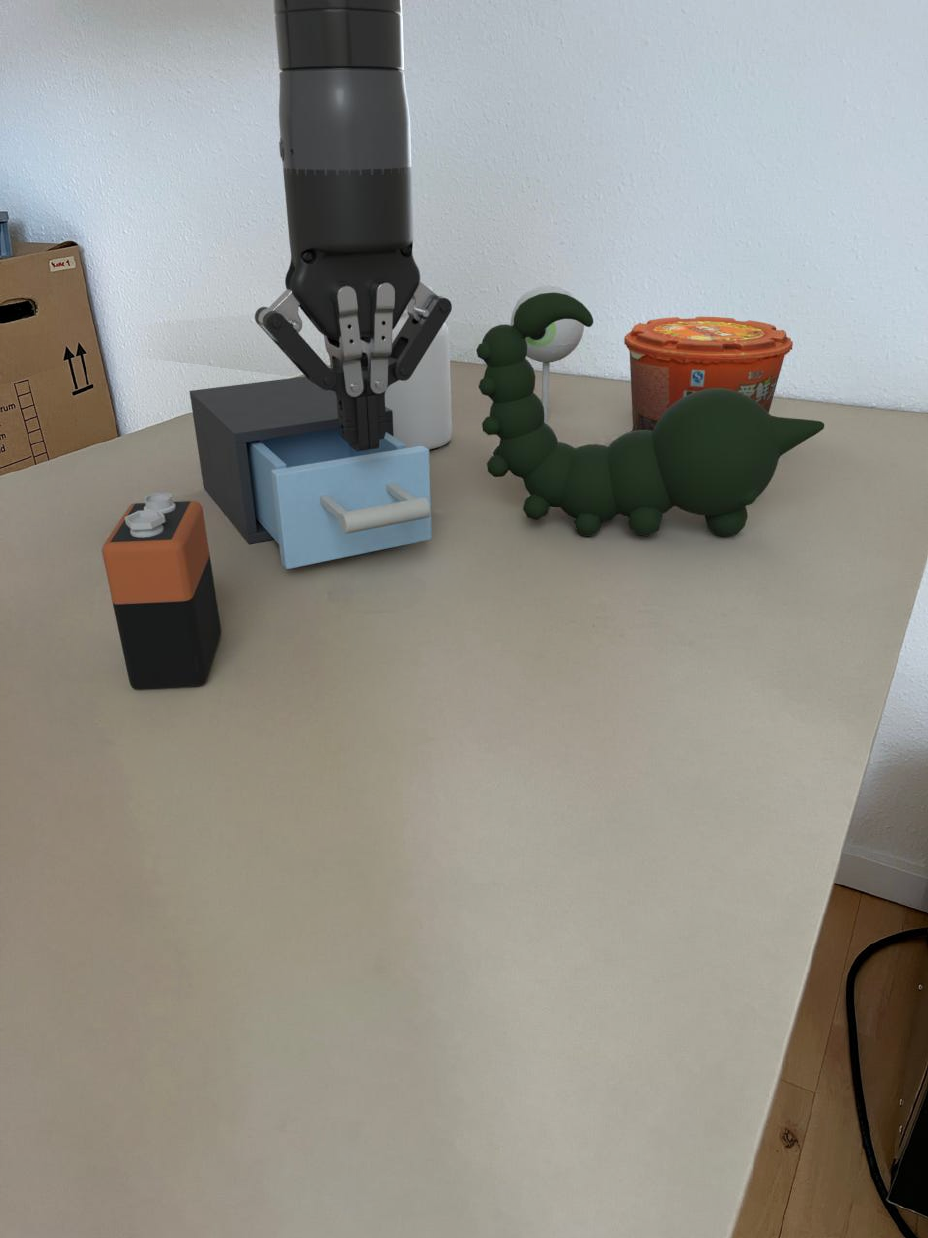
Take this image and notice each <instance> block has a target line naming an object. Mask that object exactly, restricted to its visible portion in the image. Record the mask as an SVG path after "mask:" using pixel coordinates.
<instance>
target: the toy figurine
mask: <svg viewBox="0 0 928 1238" xmlns="http://www.w3.org/2000/svg"><path fill="white" fill-rule="evenodd" d="M575 298H576V297H575ZM575 298H573V297H571V296H569V295H566V294H561V293H555V292H553V293H543V294H539V295H536V296H534V297H531V298H529V299H527V300H526V301H524V302H523V303H522V304H520V306H519V307H518V309H517V310H516V312H515V315H514V324H513V326H511V324H499V325H495V326H493V327H491V328H490V329H489V330H488V331H487V332H486V333H485V334H484V336H483V338H482V341H481V343H479V344H478V345H477V348H476V349H475V351H476V355H477V358H479V359H480V360H483V362H484V363H485V364H486V369H485V371H484V374H483V378H481V379H480V381H479V384H478V388H479V391H480V392H481V394H482V395H484V396H487V397H488V398H489V399H490V400H491V401H492V404H491V405H490V409H489V415H488V416H486V417H485V418H484V420H483V421H482V422H481V427H482V431H483V432H484V433H485V434H486V435H487V436H494V435H495V436H497V437H498V438H499V443H498V445H497V446H496V448H495V449H494V451H493V452H492V456H491V457H489V459H488V460H487V463H486V466H487V467H486V468H487V472H488V473H489V474H490V475H491V476H492V477H493V478H501V477H504V476H506V474H507V473H508V472H509V473H511V474H512V475H513V476H515V477H517V478H521V479H522V480H523V484H524V487H525V490H526V491H527V492H528V494H529V496H527V497H525V499H524V503H523V507H522V510H523V512H524V514H525V515H526V517H527V518H528V519H531V520H534V521H538V520H540V519H542V518H544V517H546V516H548V514H549V511H550V508H560V509H561V510H562V511H563V512H564V513H565V514H566V515H567V516H569V517H571V518H572V519H574V521H573V523H574V527H575V530H576V533H579V534H581V536H584V537H590V536H595V535H596V534H597V533H598V532H599V531H600V529H601V527H602V523H603V522H606V521H607V522H608V521H611V520H612V519H613V518H616V516H618V515H622V516H623V517H627V518H628V523H627V524H628V526H629V527H630V529H631V530H632V531H633V532H634V534H635V535H640V536H646V537H649V536H651V535H652V534H654V533H656V532H658V531H659V530H660V527H661V523H662V519H663V514H665V513H667V512H669V511H670V510H671V509H672V508H674V507H677V508H678V509H680V510H682V511H684V512H687V513H690V514H693V515H697V516H704V520H705V523H706V527H707V528H708V530H710V531H711V532H712V533H714V535H716V536H721V537H726V538H728V537H732V536H736V535H737V534H738V533H739V532H741V530H743V529H744V528H745V527H746V523H747V520H748V518H749V517H748V510H747V507H748V506H750V505H752V504H753V503H754V502H755V501H756V500H757V499H758V497H760V496H761V495H762V493H764V491H765V490H766V488H767V487H768V486H769V484H770V483H771V481H772V479H773V477H774V475H775V472H776V470H777V467H778V465H779V459H780V458H781V457H782V456H783V455H785V454H786V453H787V452H789V451H791V450H792V449H794V448H795V447H797V446H799V445H801V444H802V443H804V442H805V441H807V440H809V439H811V438H812V437H814V436H815V435H817V434H819V433H820V432H821V431H823V430H824V428H825V423H824V422H822V421H821V420H813V419H806V418H805V419H803V418H793V417H783V416H777V415H776V416H775V415H771V414H770V412H769V413H768V412H767V411H766V410H765V409H764V408H763V407H762V406H761V405H760V404H759V403H757V402H756V401H755V400H753V399H752V398H750V397H748V396H746V395H744V394H742V393H740V392H737V391H733V390H729V389H723V388H711V389H704V390H701V391H697V392H694V393H691V394H689V395H687V396H685V397H683V398H681V399H679V400H678V401H677V402H675V403H674V404H673V405H672V406H670V407H669V408H668V409H667V410H666V411H665V412H664V414H663V415H662V416H661V417H660V419H659V420H658V422H657V423H656V425H655V427H654V429H653V431H651V430H636V431H633V430H632V431H629V432H626V433H624V434H622V435H620V436H618V437H617V438H616V439H614V440H613V441H612V442H611V443H610V444H609V445H608V446H607V445H604V444H598V443H587V444H584V445H580V446H578V447H574V446H573V445H571V444H569V443H566V442H561V441H558V437H557V435H556V433H555V432H554V429H552V427H551V426H550V425H549V424H548V425H547V424H546V423H544V420H545V417H544V407H543V404H542V399H540V397H539V396H538V395H537V394H536V393H534V391H535V389H536V387H535V386H536V373H535V369H534V367H533V366H532V363H531V362H530V361H529V360H528V359H527V356H526V355H527V342H526V339H525V338H526V337H532V336H535V335H537V334H539V333H541V332H542V331H544V330H545V329H546V328H547V327H548V326H549V325H550V324H552V323H553V322H555V321H558V320H562V319H573V320H577V321H578V322H580V323H582V324H583V325H584V327H587V328H591V327H592V326H593V324H594V318H593V315H592V313H591V312H590V311H589V309H588V308H587V307H586V306H585V305H584V304H583V302H581V301H580V300H579V299H577V298H576V299H575Z"/></svg>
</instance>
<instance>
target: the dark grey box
mask: <svg viewBox="0 0 928 1238" xmlns="http://www.w3.org/2000/svg"><path fill="white" fill-rule="evenodd" d="M188 392H189V398H190V404H191V411H192V416H193V418H192V419H193V423H194V424H193V425H194V430H195V438H196V444H197V445H196V446H197V451H198V457H199V465H200V471H201V479H202V484H203V489H204V490H205V492H206V493H207V494H208V495H209V497H210V498H211V499H212V500H213V502H214V503H215V504H216V505H217V506H218V508H219V509H220V510H221V512H222V513H223V515H225V516H226V518H227V519H228V520H229V522H230V523H231V524H232V525H233V527H234V528H235V529H236V530H237V532H238V533H239V534H240V535H241V536H242V538H243V539H244V540H245V541H246V542H247V544H248V545H252V544H257V543H262V542H263V543H264V542H267V541H273V540H275V539H274V538H273V537H272V536H271V535H270V534H269V532H268V531H267V530H266V529H265V528H264V527H263V526H262V524H261V523H260V522H259V521H258V520H257V519H256V518H255V510H254V502H253V494H252V486H251V478H250V470H249V462H248V454H247V446H246V442H252V441H259V440H266V439H272V438H279V437H286V436H292V435H299V434H306V433H312V432H319V431H326V430H333V429H339V423H338V410H337V397H336V393H335V391H331V390H324V389H322V388H320V387H319V386H317V385H316V384H314V383H313V382H311V381H310V380H308V379H307V377H306V376H305V375H304V376H298V377H291V378H290V377H289V378H282V379H281V378H280V379H274V380H273V379H272V380H265V381H257V382H249V383H242V384H241V383H240V384H233V385H227V386H226V385H225V386H218V387H208V388H202V389H193V390H189V391H188ZM385 414H386V416H385V417H386V432H387V433H388V434H390V435H392V436H393V437H394V433H393V421H392V420H393V411H392V410H390V409H389V408H387V407H385Z"/></svg>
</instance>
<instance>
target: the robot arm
mask: <svg viewBox="0 0 928 1238" xmlns="http://www.w3.org/2000/svg"><path fill="white" fill-rule="evenodd" d="M273 12H274V13H273V14H274V25H275V26H274V28H275V39H276V50H277V62H278V70H279V71H280V72H279V73H278V74H279V98H278V100H279V101H278V125H279V142H278V147H279V148H278V149H279V156H280V158H281V162H282V172H283V183H284V194H285V206H286V217H287V230H288V240H289V248H290V263H289V267H288V270H287V272H286V274H285V278H284V282H285V283H284V284H285V291H284V292H282V293H281V294H280V295H279V297H277V298H276V300H274V302H273V303H272V304H270V306H268V307H267V306H260V307H259V308H257V310H256V311H255V314H254V320H255V322H256V324H257V325H258V326H259V327H260V328H261V330H262V331H263V332H264V333H265V334H266V335H267V336H268V337H269V338H270V339H271V341H273V343H274V344H275V345H276V346H277V347H278V348H279V349H280V350H281V352H282V353H283V354H284V355H286V357H287V358H288V359H289V361H291V362H292V364H294V366H295V367H296V368H297V369H298V370H299V371H300V372H301V373H302V374H303V376H304V377H305V376H306V377H307V379H308V380H310V381H311V382H313V383H314V384H316V385H317V386H319V387H320V388H322V389H324V390H331V391H335V393H336V397H337V410H338V423H339V433H340V435H341V437H342V439H343V440H345V441H346V442H348V443H349V446H350V447H352V448H353V449H354V450H356V451H357V452H360V451H366V450H372V449H378V448H379V440H380V439H384V437H385V434H386V417H385V416H386V414H385V391H386V389H387V388H388V387H389V386H390V385H391V384H393V383H395V382H397V381H399V380H401V381H406V380H408V379H409V378H410V377H411V375H412V374H413V372H414V371H415V369H416V367H417V366H418V364H419V362H420V361H421V359H422V358H423V356H424V354H425V353H426V351H427V350H428V348H429V346H430V345H431V343H432V342H433V340H434V338H435V337H436V335H437V333H438V332H439V330H440V329H441V327H442V325H443V324H444V322H445V323H446V320H447V319H448V318H449V316H450V314H451V312H452V309H453V305H452V302H451V300H449V298H446V297H443V296H441V295H439V294H437V293H436V292H434V291H433V292H432V291H431V290H430V289H429V288H428V287H426V286H425V285H426V284H424V283H423V282H422V281H421V270H420V268H419V266H418V264H417V262H416V259H415V257H414V253H413V247H414V238H415V237H414V209H413V207H414V206H413V204H414V203H413V175H412V174H413V173H412V169H413V168H412V139H411V135H412V134H411V117H410V107H409V99H408V95H407V88H406V77H405V72H404V70H405V59H404V58H405V57H404V56H405V55H404V29H403V28H404V26H403V24H404V23H403V1H402V0H273ZM408 304H409V305H408ZM407 305H408V308H407V313H408V315H409V317H408V319H407V320H406V322H405V324H404V325H403V327H402V329H401V330H400V332H399V333H398V335H397V337H396V338H395V340H394V342H393V343H392V330H393V329H394V328H395V327H396V325H397V323H398V321H399V320H400V318H401V316H402V314H403V313H404V311H405V309H406V307H407ZM299 308H300V310H301V311H302V312H303V313H304V315H305V316H306V318H307V319H308V320H309V321H310V322H311V323H312V325H313V326H314V327H315V328H316V329H317V331H318V332H319V333H320V334H322V335H323V339H324V346H325V351H326V353H327V355H328V357H329V364H330V366H328V365H327V364H326V363H325V362H324V361H323V359H322V358H321V357H320V356H319V355H318V354H317V353H316V351H315V350H314V348H312V347H311V345H309V344H308V342H307V341H306V340H305V339H304V338H303V337H302V335H300V334H299V333H300V332H301V331H302V328H303V320H302V318H301V317H300V315H299Z"/></svg>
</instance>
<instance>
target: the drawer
mask: <svg viewBox="0 0 928 1238" xmlns="http://www.w3.org/2000/svg"><path fill="white" fill-rule="evenodd" d="M246 446H247V454H248V462H249V470H250V478H251V486H252V494H253V502H254V510H255V518H256V519H257V520H258V521H259V522H260V523H261V524H262V526H263V527H264V528H265V529H266V530H267V531H268V532H269V534H270V535H271V536H272V537H273V538H274V539H273V540H274V541H275V542H276V543H277V544H278V546H279V553H280V562H281V564H282V566H283V567H284V569H286V570H290V569H294V568H295V569H296V568H301V567H305V566H309V565H314V564H319V563H324V562H330V561H334V560H338V559H343V558H347V557H348V558H349V557H352V556H353V557H354V556H357V555H363V554H367V553H371V552H376V551H382V550H387V549H390V548H391V549H392V548H396V547H401V546H406V545H410V544H415V543H421V542H424V541H430V540H432V539H433V535H432V503H431V502H432V501H431V471H430V467H431V466H430V449H429V450H428V449H427V448H425V447H424V446H417V447H411V448H406V444H404V443H402V442H401V441H399V440H398V439H396V438H395V437H393V436H392V435H390V434H388V433H387V432H386V434H385V437H384V439H380V440H379V448H378V449H372V450H366V451H360V452H357V451H356V450H354V449H353V448H352V447H350V446H349V443H348V442H346V441H345V440H343V439H342V437H341V435H340V433H339V429H333V430H326V431H319V432H312V433H306V434H299V435H292V436H286V437H279V438H272V439H266V440H259V441H252V442H246Z"/></svg>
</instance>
